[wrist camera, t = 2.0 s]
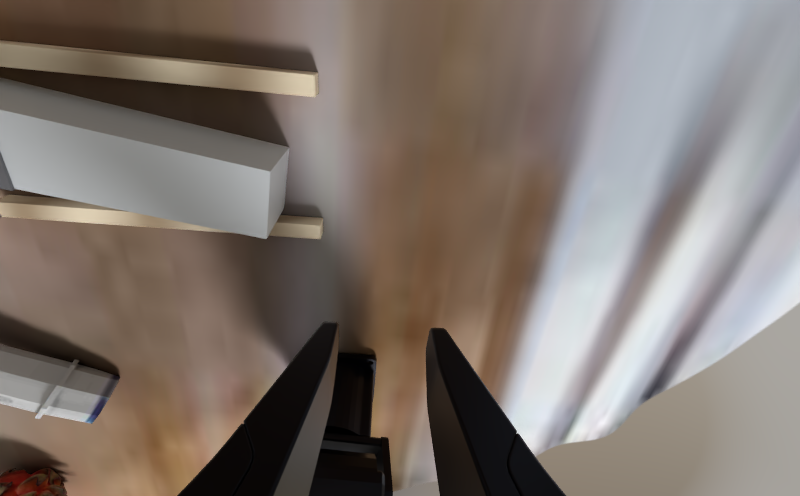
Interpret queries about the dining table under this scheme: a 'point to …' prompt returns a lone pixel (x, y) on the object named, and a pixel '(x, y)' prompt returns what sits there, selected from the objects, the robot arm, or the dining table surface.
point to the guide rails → (155, 71)
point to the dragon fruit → (31, 483)
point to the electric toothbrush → (53, 385)
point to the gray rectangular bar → (138, 161)
